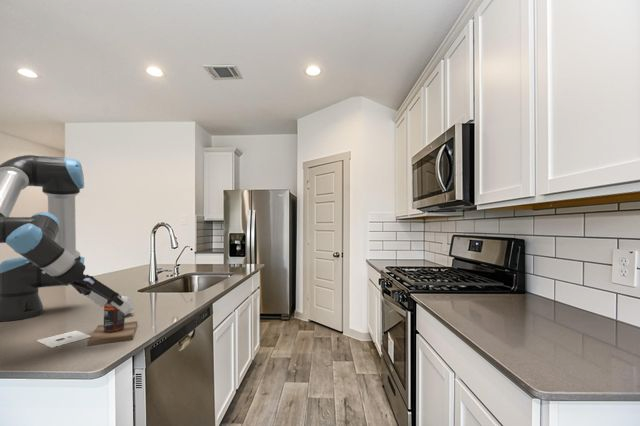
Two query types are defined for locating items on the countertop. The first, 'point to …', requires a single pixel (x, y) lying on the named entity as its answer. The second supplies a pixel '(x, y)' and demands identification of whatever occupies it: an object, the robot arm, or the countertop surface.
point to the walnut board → (112, 334)
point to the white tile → (63, 339)
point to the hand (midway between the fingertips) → (115, 306)
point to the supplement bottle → (113, 318)
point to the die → (128, 303)
